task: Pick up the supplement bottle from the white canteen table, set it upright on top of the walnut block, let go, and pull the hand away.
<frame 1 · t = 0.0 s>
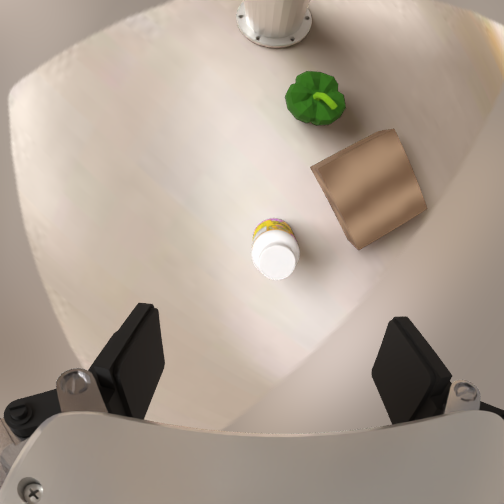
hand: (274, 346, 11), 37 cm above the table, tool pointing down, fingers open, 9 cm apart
walnut block: (364, 185, 44), on the table
supplement bottle: (272, 235, 48), on the table
bell pepper: (308, 105, 41), on the table
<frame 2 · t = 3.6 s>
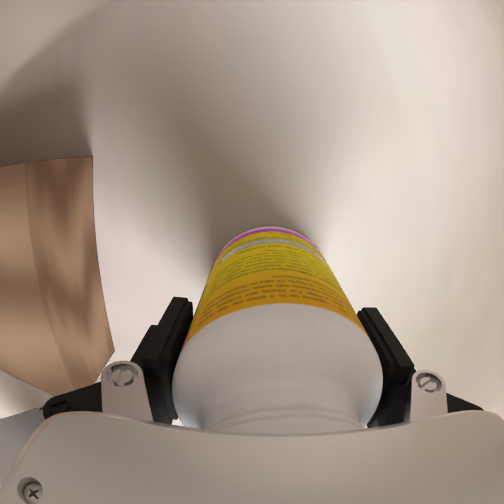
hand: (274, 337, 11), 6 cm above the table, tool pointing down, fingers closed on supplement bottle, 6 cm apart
walnut block: (29, 257, 17), on the table
supplement bottle: (269, 278, 17), on the table, touching gripper
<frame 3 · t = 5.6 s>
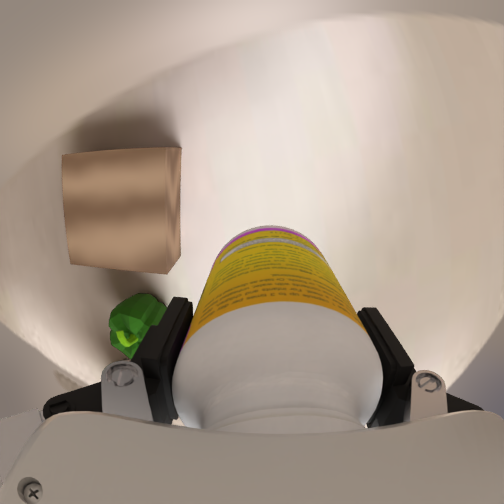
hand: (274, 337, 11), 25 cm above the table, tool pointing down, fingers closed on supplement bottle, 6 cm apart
walnut block: (130, 202, 35), on the table
supplement bottle: (269, 277, 17), point 19 cm above the table, touching gripper
bell pepper: (152, 309, 40), on the table
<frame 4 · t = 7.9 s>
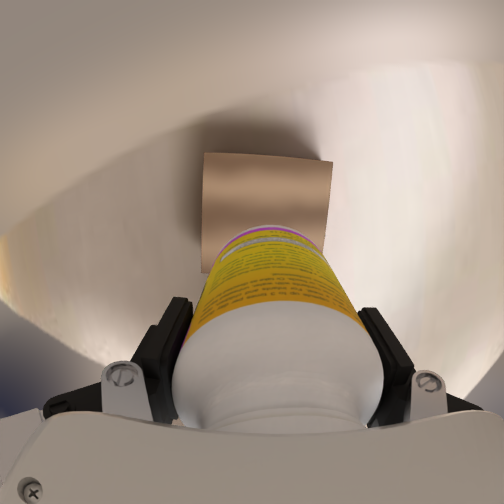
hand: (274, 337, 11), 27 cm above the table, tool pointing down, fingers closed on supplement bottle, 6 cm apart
walnut block: (263, 209, 37), on the table
supplement bottle: (269, 277, 17), point 22 cm above the table, touching gripper
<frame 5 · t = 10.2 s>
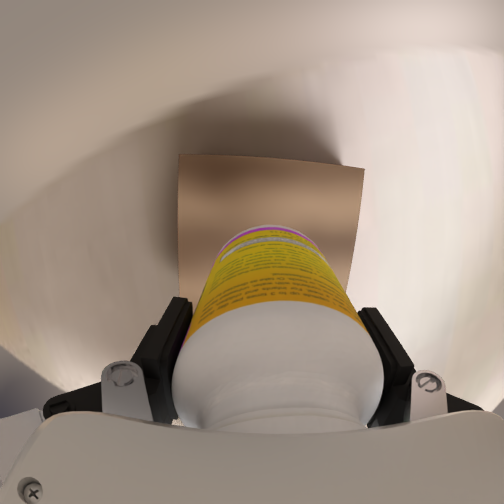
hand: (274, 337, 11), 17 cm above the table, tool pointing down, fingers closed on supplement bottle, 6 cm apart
walnut block: (265, 230, 28), on the table
supplement bottle: (269, 277, 17), point 12 cm above the table, touching gripper
when the fingers open (12 cm above the table, at t = 12.1 s): supplement bottle stays where it is, resting on walnut block.
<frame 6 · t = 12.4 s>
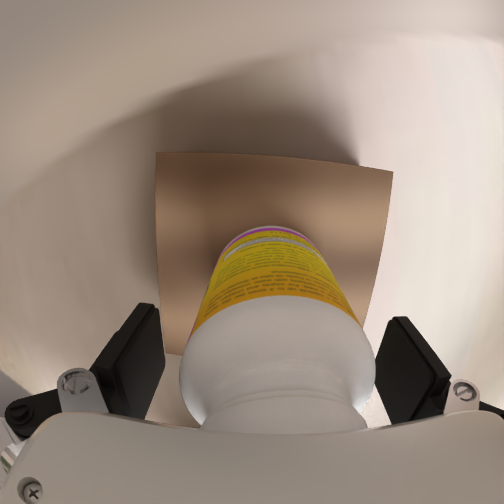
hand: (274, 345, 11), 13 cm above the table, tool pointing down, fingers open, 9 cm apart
walnut block: (266, 244, 23), on the table
supplement bottle: (270, 275, 18), point 6 cm above the table, touching walnut block
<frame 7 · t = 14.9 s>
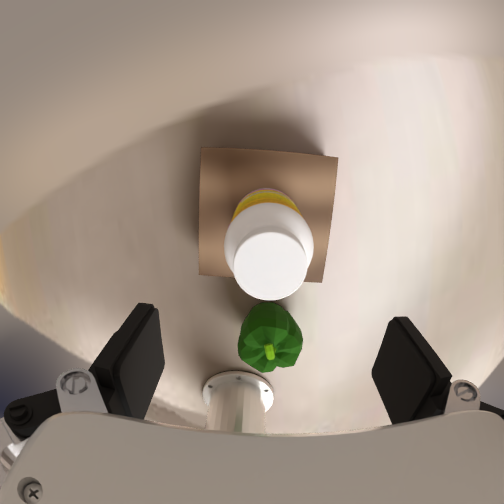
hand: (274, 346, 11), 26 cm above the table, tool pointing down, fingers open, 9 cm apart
walnut block: (264, 207, 35), on the table
supplement bottle: (266, 218, 30), point 6 cm above the table, touching walnut block
bell pepper: (269, 317, 41), on the table
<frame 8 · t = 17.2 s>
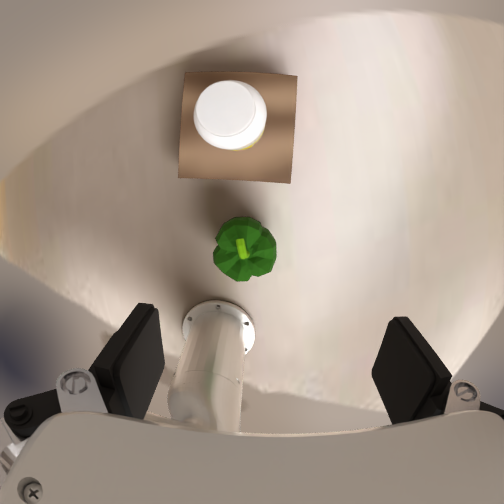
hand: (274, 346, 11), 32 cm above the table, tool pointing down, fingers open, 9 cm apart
walnut block: (239, 128, 38), on the table
supplement bottle: (237, 125, 32), point 6 cm above the table, touching walnut block
bell pepper: (247, 237, 43), on the table
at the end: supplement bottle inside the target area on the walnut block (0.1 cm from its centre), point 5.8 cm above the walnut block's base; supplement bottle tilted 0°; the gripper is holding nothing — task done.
